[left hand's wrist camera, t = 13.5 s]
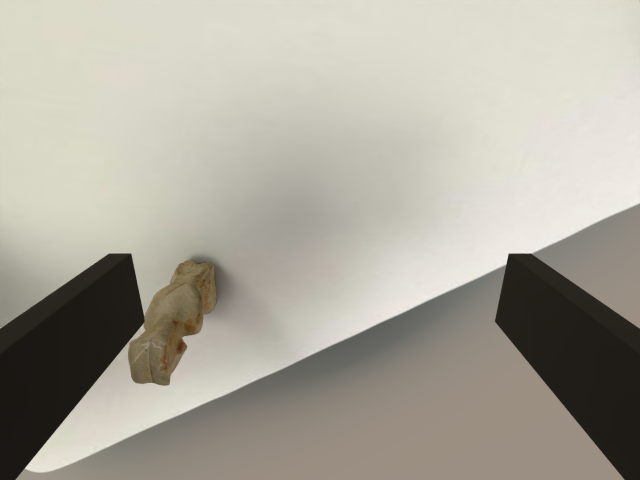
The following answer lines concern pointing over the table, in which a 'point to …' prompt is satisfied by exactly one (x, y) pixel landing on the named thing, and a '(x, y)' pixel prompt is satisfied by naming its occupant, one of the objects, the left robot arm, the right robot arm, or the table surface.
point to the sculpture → (172, 322)
